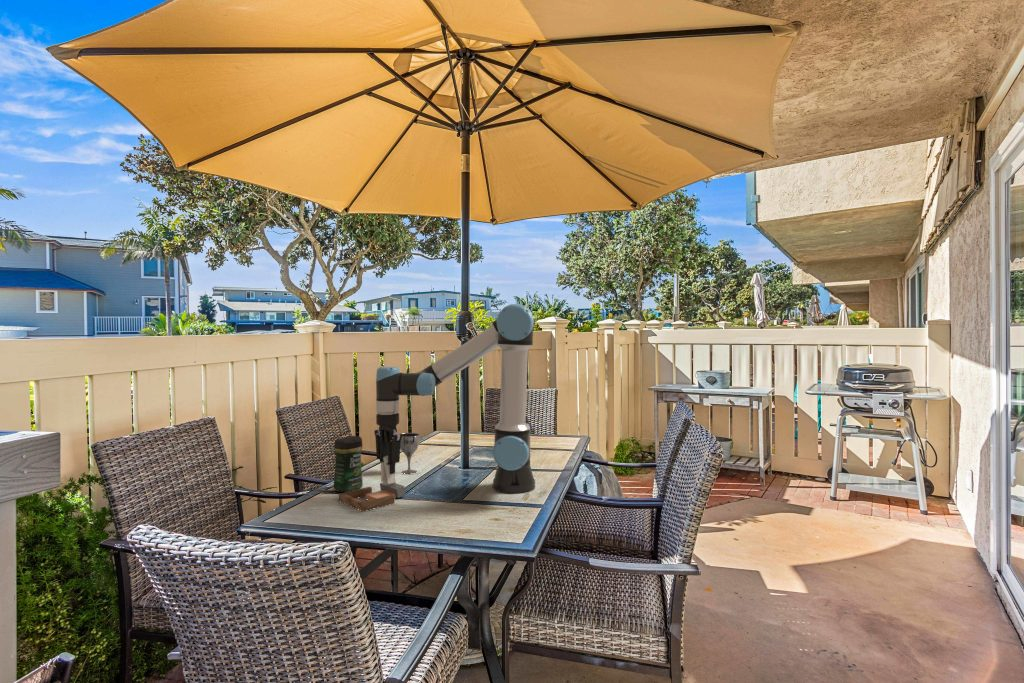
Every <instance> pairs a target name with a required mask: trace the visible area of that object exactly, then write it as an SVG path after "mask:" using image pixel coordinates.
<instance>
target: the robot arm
mask: <svg viewBox="0 0 1024 683" xmlns="http://www.w3.org/2000/svg"><path fill="white" fill-rule="evenodd" d="M534 326H535V319H534V315H533V313H532V311H531V310H530V309H529V308H528V307H527V306H525V305H524V304H520V303H519V304H518V303H511V304H508V305H506V306H504V307H503V308H502V309H501V310H500V311H499V314H498V315H497V318H496V320H494V321H493V322H491V324H490V327H488V328H487V329H486V330H484V331H482V332H481V333H479V334H477V335H475V336H474V337H473V338H471V339H469V340H468V341H466V342H465V343H463V344H462V345H460V346H459V347H456V348H455V349H454V350H452V351H451V352H448V353H447V354H446V355H444V356H442V357H441V358H439V359H438V360H437V361H435V362H433V363H431V364H430V365H428V366H426V367H425V368H424V369H422V370H420V371H418V372H400V368H399V366H381V367H378V368H377V369H376V376H375V377H376V378H375V379H376V380H375V387H376V388H375V390H376V392H375V394H376V398H375V400H376V401H375V409H376V410H375V411H376V415H375V416H376V417H375V418H376V420H375V423H376V425H377V426H379V427H378V429H375V430H374V431H373V434H374V436H375V450H376V451H375V452H376V459H377V460H379V462H380V483H383V482H385V481H387V484H390V483H395V481H396V464H398V463H400V462H401V461H400V460H401V459H400V456H401V449H400V443H401V438H402V433H398V430H397V425H399V424H400V413H399V412H400V396H416V397H417V396H422V397H426V396H433V395H434V393H435V391H436V387H438V386H439V385H440V384H443V383H444V382H445V381H446V380H449V379H450V378H451V377H453V376H454V375H456V374H458V373H460V372H461V371H462V370H465V369H466V368H467V367H469V366H471V365H472V364H474V363H476V362H477V361H478V360H480V359H482V358H483V357H485V356H487V355H489V354H490V353H492V352H493V351H494V350H496V349H498V348H500V349H501V365H500V366H501V371H500V372H501V373H500V375H501V376H500V395H499V396H500V400H499V404H500V407H499V422H498V423H497V424H495V426H494V440H493V441H494V442H493V443H494V444H493V448H492V456H493V460H494V462H495V463H496V465H497V467H496V470H495V474H494V477H493V480H492V488H493V490H495V491H497V492H500V493H501V492H502V493H507V494H520V493H521V494H522V493H528V492H531V491H533V490H535V489H536V479H535V478H534V475H533V471H532V468H531V432H532V431H531V426H530V424H529V423H526V418H527V417H526V416H527V388H528V387H527V386H528V384H527V383H528V359H529V358H528V356H529V355H528V354H529V350H530V349H531V348H532V347H533V344H534V343H533V342H534ZM385 456H388V463H386V464H387V479H386V472H385V466H384V460H383V457H385ZM530 490H531V491H530ZM527 491H528V492H527Z"/></svg>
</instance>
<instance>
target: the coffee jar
mask: <svg viewBox="0 0 1024 683" xmlns="http://www.w3.org/2000/svg"><path fill="white" fill-rule="evenodd" d="M333 450H334V455H335V465H334V466H335V468H334V469H335V470H334V475H333V476H334V477H333V489H334V490H335V491H336V492H338V493H341V492H342V493H345V492H349V491H352V490H357V489H361V488H363V484H364V483H363V472H362V460H361V458H362V450H363V438H362V437H361V436H358V435H350V436H349V435H348V436H345V437H341V438H336V439H335V440H334V447H333Z"/></svg>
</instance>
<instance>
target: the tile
mask: <svg viewBox="0 0 1024 683" xmlns="http://www.w3.org/2000/svg"><path fill="white" fill-rule="evenodd" d="M389 495H394V500H396V498H397V497H396V494H394V493H391V492H388V491H386V490H381V489H380V490H378V491H374V492H373V491H372V493H369V494H366V496H365V500H366V499H368V500H367V501H369V500H374V499H378V498H381V497H385V496H389Z"/></svg>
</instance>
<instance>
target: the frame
mask: <svg viewBox="0 0 1024 683" xmlns="http://www.w3.org/2000/svg"><path fill="white" fill-rule="evenodd" d="M369 493H373V487H371V486H367V487H361V488H359V489H356V490H353V491H348V492H342V493H341V492H339V493H338V502H339V501H341V502H343V503H345V504H344V505H346V504H347V505H346V506H348V505H349V506H348V507H350V506H352V507H351V508H353V507H354V508H353V509H355V508H356V510H357V509H359V510H358V511H360V510H361V511H360V512H362V511H365V512H367V511H366V510H368V511H371V510H370V509H372V510H374V509H373V508H376V509H378V508H377V507H380V508H382V506H383V507H386V506H385V505H387V506H390V505H389V504H391V505H394V504H395V499H394V495H389V496H385V497H381V498H378V499H374V500H370V501H369V500H366V501H363V500H361V499H360V498H358V497H361V498H363V497H362V496H365V497H366V494H369ZM341 502H340V503H341ZM343 503H342V504H343ZM393 503H394V504H393Z"/></svg>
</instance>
